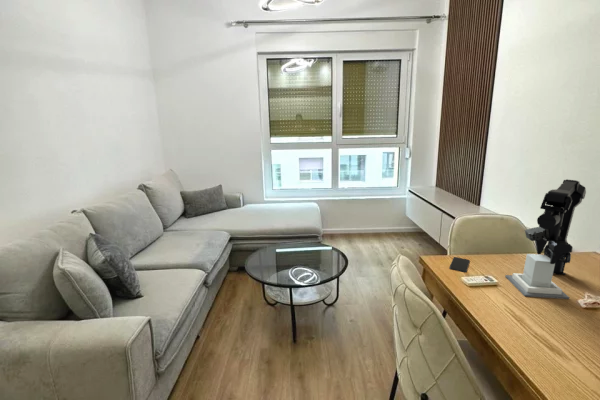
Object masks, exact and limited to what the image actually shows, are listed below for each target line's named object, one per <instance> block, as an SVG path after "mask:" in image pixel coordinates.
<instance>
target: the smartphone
mask: <svg viewBox="0 0 600 400" xmlns="http://www.w3.org/2000/svg"><path fill="white" fill-rule="evenodd" d="M470 261H471V260H470V259H466V258H463V257H462V258H461V257H458V256H457V257H456V256H454V257H453V258H452V261H451V262H450V265H449V267H448V268H449V270H452V271H456V272H457V271H458V272H461V273H467V272H468V268H469V265H470V263H471V262H470Z"/></svg>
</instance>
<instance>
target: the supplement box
mask: <svg viewBox="0 0 600 400" xmlns="http://www.w3.org/2000/svg"><path fill="white" fill-rule="evenodd" d="M554 266H555V263H554V264H550V258H549V257H548V256H546V255H544V254H537V253H536V254H535V253H526V258H525V261H524V266H523V267H524V268H523V273H522V274H523V277H522V280H523V281H524V282H526V283H527V284H528V285H529V286H530V287H545V288H550V286H551V281H552V280H553V275H554V274H553V271H554ZM552 282H553V281H552Z"/></svg>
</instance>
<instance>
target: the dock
mask: <svg viewBox="0 0 600 400" xmlns="http://www.w3.org/2000/svg"><path fill="white" fill-rule="evenodd" d="M504 277H505V278H506V279H507V280H508V281H509V282H510V283H511V284H512V285H513V286H514V287H515V288H516V289H517V291H519V292H520V293H521V295H522V296H524V297H532V298H546V299H561V300H569V299H570V296H569V295H567V294H566V293H565V292H564V291H563V289H562V288H561V287H560V286H559V285H557V284H556V283H555V282H553V281H551V286H550V288H545V287H530V286H529V285H528V284H527V283H526V282H524V281H523V280H522V277H523V273H517V272H514V273H512V274H510V275H509V274H508V275H507V274H505V276H504Z"/></svg>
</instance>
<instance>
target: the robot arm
mask: <svg viewBox="0 0 600 400" xmlns="http://www.w3.org/2000/svg"><path fill="white" fill-rule="evenodd" d="M544 194H545V195H544V197H543V199H542V202H541V205H540V207H539V208H540V210H544V211H543V213H541V214H540V215H539V216H538V217H537V218H536V222H537V224H538V226H536V227H531V228H527V229H525V230H524V232H525V237H526V239H528V240H529V241H530V242H531V241H532V242H534V243H535V248H536V254H540V255H542V252H543V255H546V256H548V257H549V258H550V264H554V263H555V266H554V271H553V275H563V276H566V275H567V273H566V272H564V271H565V267H566V264H568V263H569V264H570V263H571V259H572V252H573V246H572V244H570V243H569V242H568V239H567V238H568V235H569V232H570V228H571V223H572V221H573V217H574V213H575V210H576V208H577V207H578V206H579V205H580V204H582V202H583V200H584V199H585V198H586V194H587V189H586V187H585V186H584V185H582V184H581V182H580V181H579V180H575V179H568V178H567V179H563V181H562V183H561V184H560V186H558V187H557V188H556V189H550V190H549V191H548V192H546V193H544Z"/></svg>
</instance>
